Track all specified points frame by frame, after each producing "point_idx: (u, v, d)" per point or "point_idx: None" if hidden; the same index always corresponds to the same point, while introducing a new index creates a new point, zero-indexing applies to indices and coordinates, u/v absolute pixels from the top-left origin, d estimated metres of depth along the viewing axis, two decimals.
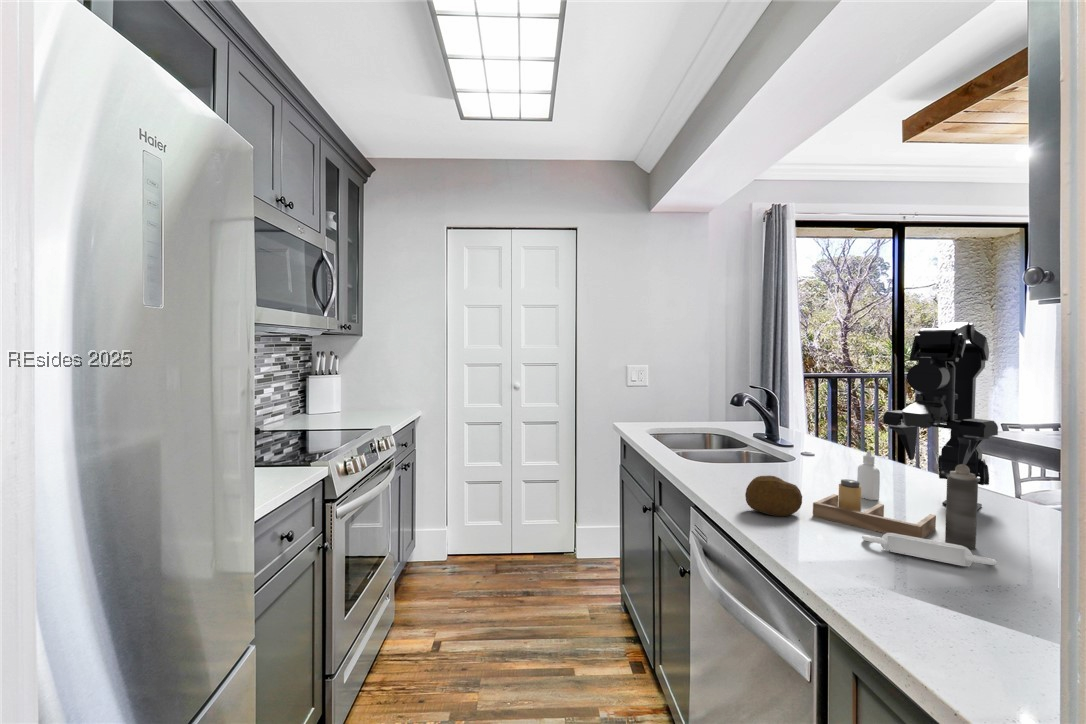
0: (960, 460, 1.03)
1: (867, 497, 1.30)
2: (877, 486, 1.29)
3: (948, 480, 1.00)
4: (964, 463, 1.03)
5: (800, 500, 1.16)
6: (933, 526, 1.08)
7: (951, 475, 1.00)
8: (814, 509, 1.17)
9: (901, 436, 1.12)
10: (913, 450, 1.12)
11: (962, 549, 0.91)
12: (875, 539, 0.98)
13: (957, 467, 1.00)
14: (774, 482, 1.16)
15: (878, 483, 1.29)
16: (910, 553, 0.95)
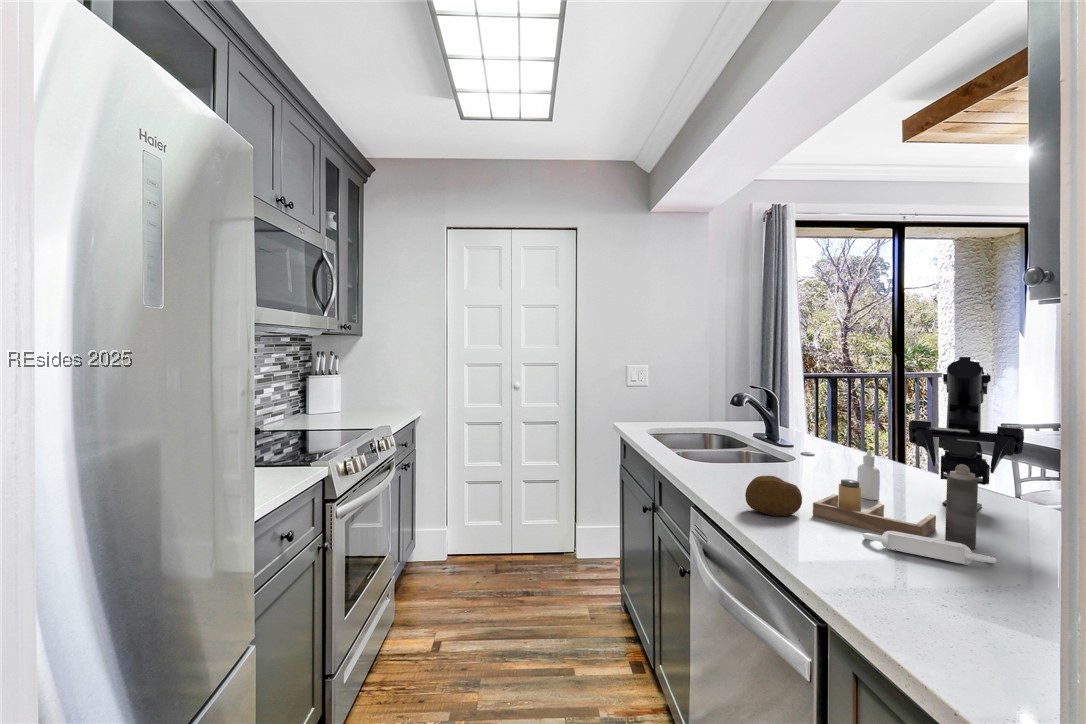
0: None
1: (867, 497, 1.30)
2: (877, 486, 1.29)
3: (948, 480, 1.00)
4: (930, 460, 1.10)
5: (800, 500, 1.16)
6: (933, 526, 1.08)
7: (951, 475, 1.00)
8: (814, 509, 1.17)
9: None
10: (991, 462, 1.04)
11: (962, 547, 0.92)
12: (875, 537, 0.99)
13: (957, 467, 1.00)
14: (774, 482, 1.16)
15: (878, 483, 1.29)
16: (910, 551, 0.96)
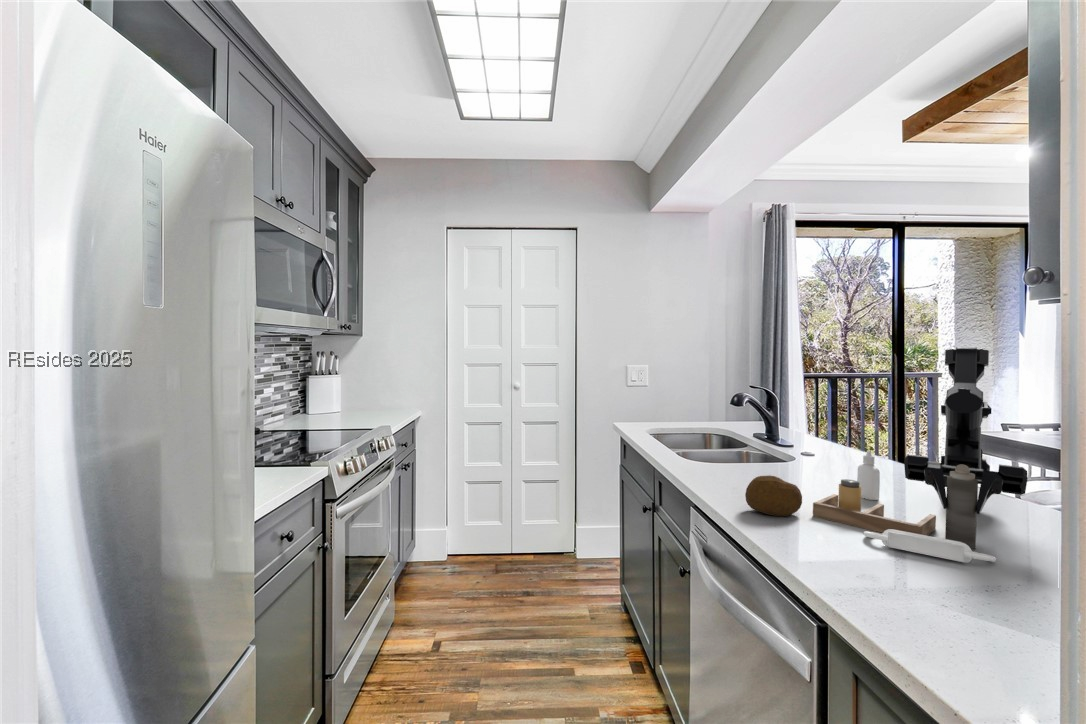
0: None
1: (867, 497, 1.30)
2: (877, 486, 1.29)
3: (948, 480, 1.00)
4: (941, 501, 1.01)
5: (800, 500, 1.16)
6: (933, 526, 1.08)
7: (951, 475, 1.00)
8: (814, 509, 1.17)
9: None
10: (977, 502, 0.98)
11: (962, 545, 0.93)
12: (876, 535, 1.00)
13: (957, 467, 1.00)
14: (774, 482, 1.16)
15: (878, 483, 1.29)
16: (910, 549, 0.97)
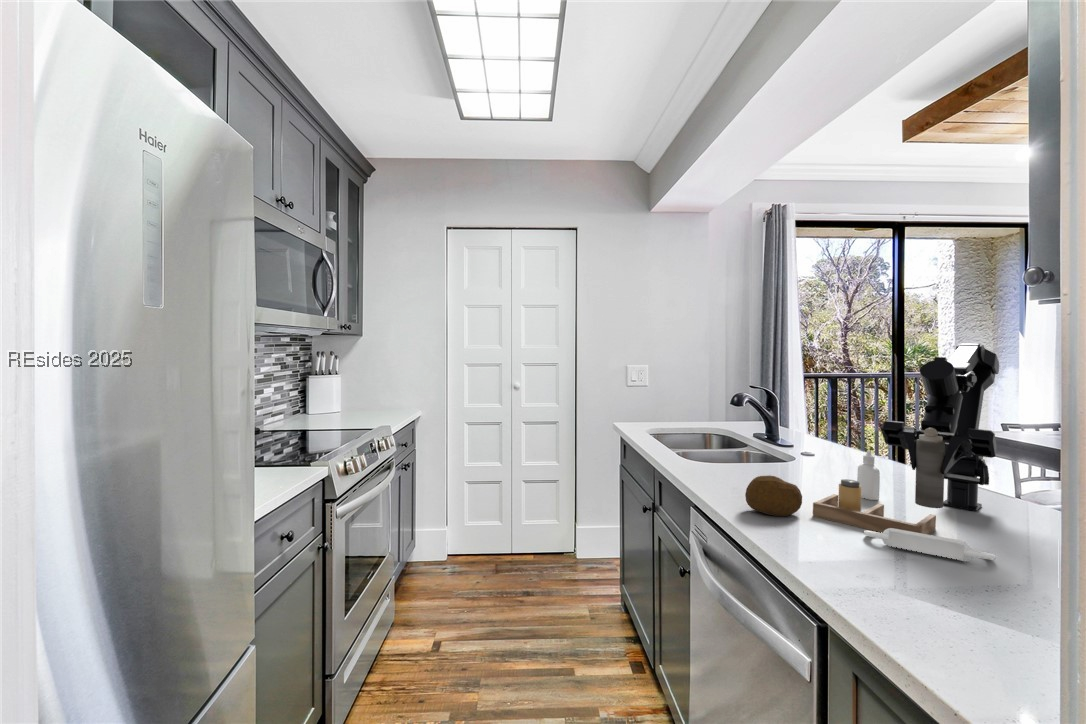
0: None
1: (867, 497, 1.30)
2: (877, 486, 1.29)
3: None
4: (911, 463, 1.07)
5: (800, 500, 1.16)
6: (933, 526, 1.08)
7: (919, 438, 1.05)
8: (814, 509, 1.17)
9: None
10: None
11: (961, 544, 0.93)
12: (876, 534, 1.00)
13: (925, 430, 1.05)
14: (774, 482, 1.16)
15: (878, 483, 1.29)
16: (911, 548, 0.97)
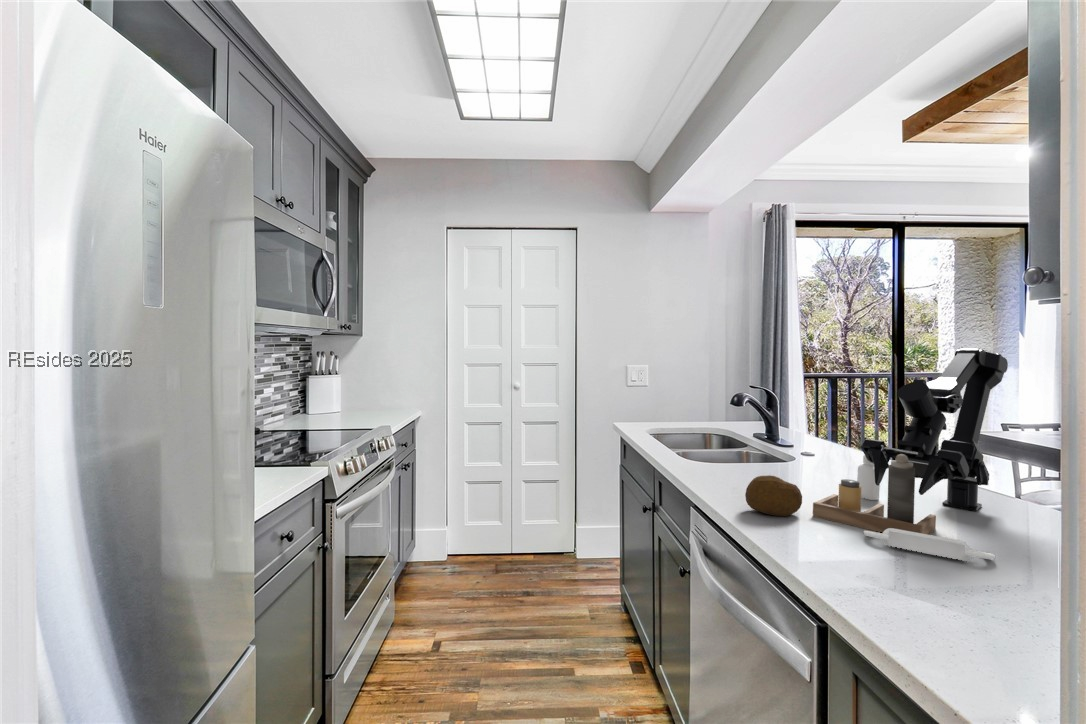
0: None
1: (867, 497, 1.30)
2: (877, 486, 1.29)
3: None
4: None
5: (800, 500, 1.16)
6: (933, 526, 1.08)
7: (891, 463, 1.10)
8: (814, 509, 1.17)
9: None
10: None
11: (961, 544, 0.93)
12: (876, 534, 1.00)
13: (896, 456, 1.09)
14: (774, 482, 1.16)
15: None
16: (911, 548, 0.97)
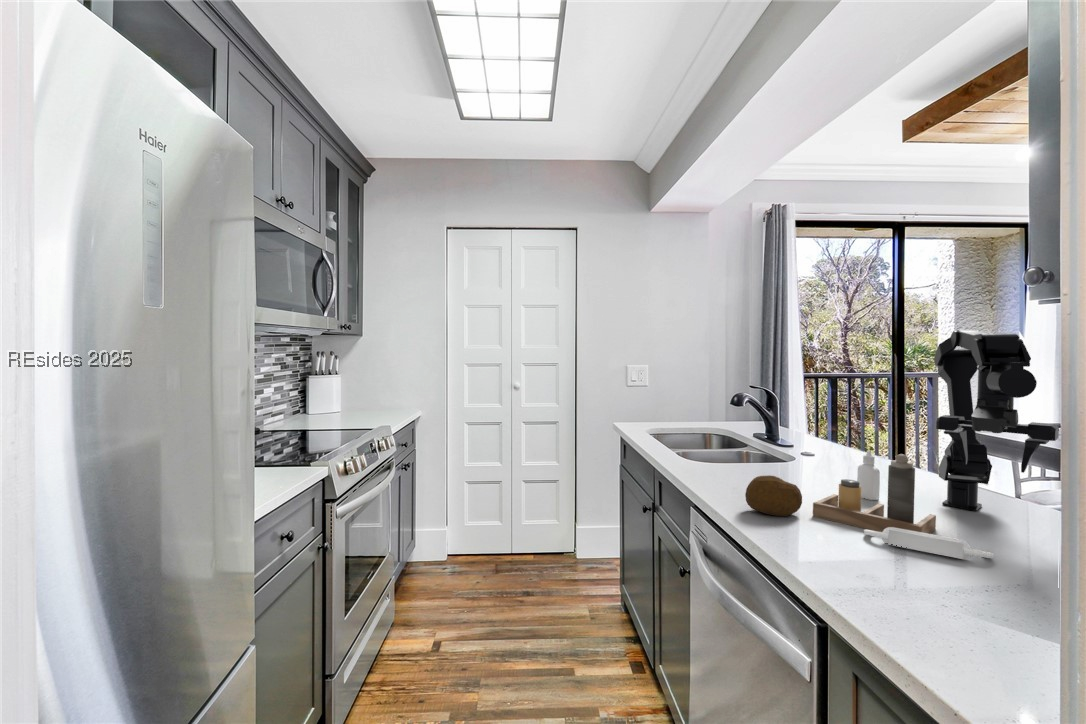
0: (1024, 464, 1.04)
1: (867, 497, 1.30)
2: (877, 486, 1.29)
3: (888, 468, 1.10)
4: (1026, 466, 1.04)
5: (800, 500, 1.16)
6: (933, 526, 1.08)
7: (891, 463, 1.10)
8: (814, 509, 1.17)
9: (956, 441, 1.12)
10: (966, 455, 1.12)
11: (961, 543, 0.94)
12: (876, 533, 1.01)
13: (896, 456, 1.09)
14: (774, 482, 1.16)
15: (878, 483, 1.29)
16: (910, 547, 0.98)
